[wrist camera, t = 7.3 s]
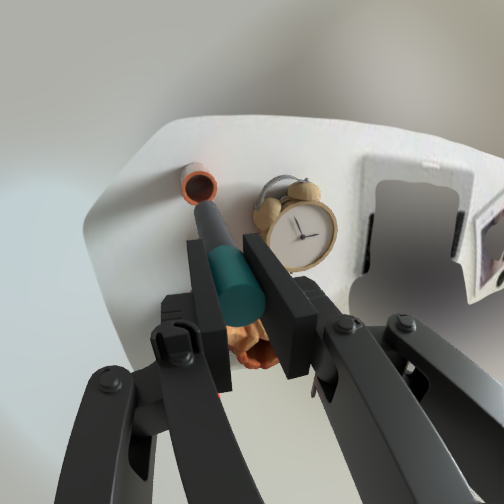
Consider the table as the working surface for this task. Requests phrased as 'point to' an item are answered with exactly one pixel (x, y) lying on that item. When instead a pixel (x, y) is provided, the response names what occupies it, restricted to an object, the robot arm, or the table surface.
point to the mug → (251, 346)
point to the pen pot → (197, 184)
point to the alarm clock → (296, 225)
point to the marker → (229, 269)
